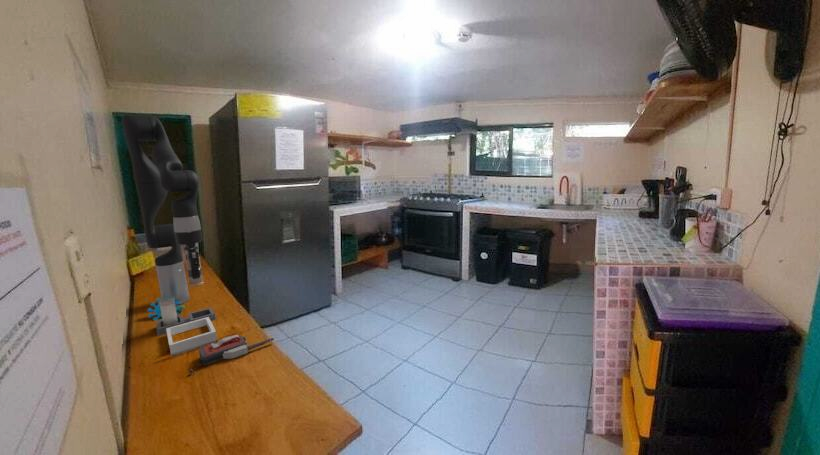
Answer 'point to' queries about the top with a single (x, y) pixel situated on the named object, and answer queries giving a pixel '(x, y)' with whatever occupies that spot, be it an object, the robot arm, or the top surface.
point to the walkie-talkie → (226, 349)
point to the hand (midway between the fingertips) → (195, 276)
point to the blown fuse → (192, 281)
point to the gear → (158, 310)
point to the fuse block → (181, 320)
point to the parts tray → (193, 341)
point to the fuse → (168, 311)
